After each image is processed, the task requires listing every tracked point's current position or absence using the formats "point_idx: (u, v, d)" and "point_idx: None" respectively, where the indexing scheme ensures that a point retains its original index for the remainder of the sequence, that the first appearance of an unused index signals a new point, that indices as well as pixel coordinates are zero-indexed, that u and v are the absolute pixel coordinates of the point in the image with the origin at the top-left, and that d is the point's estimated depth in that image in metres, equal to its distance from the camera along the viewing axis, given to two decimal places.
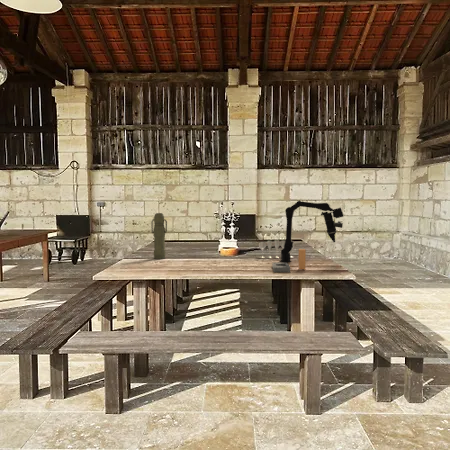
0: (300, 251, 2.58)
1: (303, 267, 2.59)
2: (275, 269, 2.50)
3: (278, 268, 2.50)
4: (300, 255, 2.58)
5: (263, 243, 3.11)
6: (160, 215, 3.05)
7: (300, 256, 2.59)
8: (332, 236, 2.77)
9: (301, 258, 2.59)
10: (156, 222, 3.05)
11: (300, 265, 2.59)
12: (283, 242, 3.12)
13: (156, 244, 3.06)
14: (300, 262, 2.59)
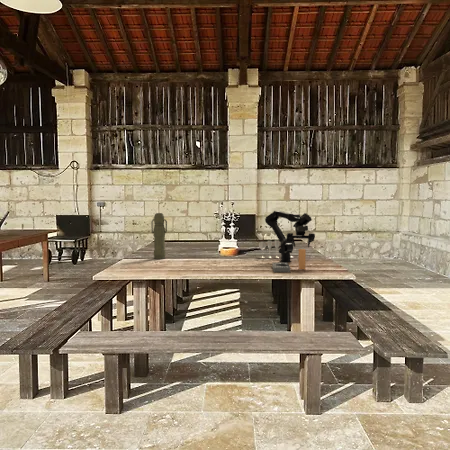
0: (300, 251, 2.58)
1: (303, 267, 2.59)
2: (275, 269, 2.50)
3: (278, 268, 2.50)
4: (300, 255, 2.58)
5: (263, 243, 3.11)
6: (160, 215, 3.05)
7: (300, 256, 2.59)
8: (292, 242, 2.71)
9: (301, 258, 2.59)
10: (156, 222, 3.05)
11: (300, 265, 2.59)
12: None
13: (156, 244, 3.06)
14: (300, 262, 2.59)
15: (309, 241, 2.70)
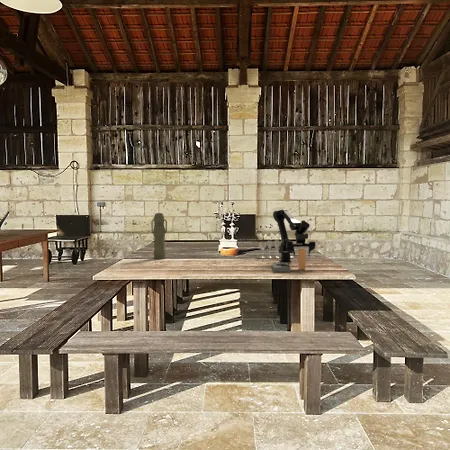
0: (300, 251, 2.58)
1: (303, 267, 2.59)
2: (275, 269, 2.50)
3: (278, 268, 2.50)
4: (300, 255, 2.58)
5: (263, 243, 3.11)
6: (160, 215, 3.05)
7: (300, 256, 2.59)
8: (292, 250, 2.65)
9: (301, 258, 2.59)
10: (156, 222, 3.05)
11: (300, 265, 2.59)
12: None
13: (156, 244, 3.06)
14: (300, 262, 2.59)
15: (309, 249, 2.63)
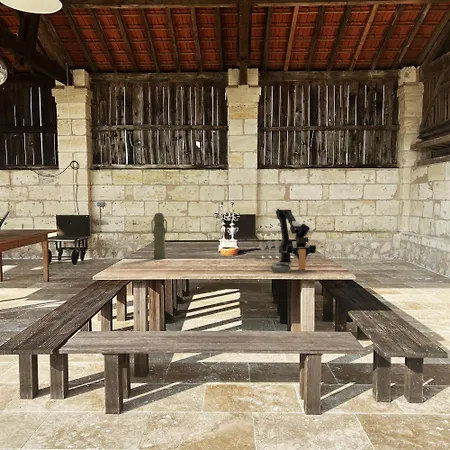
0: (300, 251, 2.58)
1: (303, 267, 2.59)
2: (275, 269, 2.50)
3: (278, 268, 2.50)
4: (300, 255, 2.58)
5: (263, 243, 3.11)
6: (160, 215, 3.05)
7: (300, 256, 2.59)
8: (296, 254, 2.62)
9: (301, 258, 2.59)
10: (156, 222, 3.05)
11: (300, 265, 2.59)
12: None
13: (156, 244, 3.06)
14: (300, 262, 2.59)
15: (306, 253, 2.61)
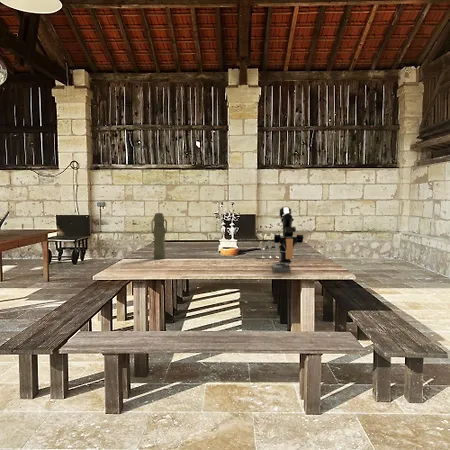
0: (287, 240, 2.57)
1: (290, 257, 2.57)
2: (275, 269, 2.50)
3: (278, 268, 2.50)
4: (287, 244, 2.57)
5: (263, 243, 3.11)
6: (160, 215, 3.05)
7: (287, 245, 2.57)
8: (283, 243, 2.61)
9: (289, 247, 2.57)
10: (156, 222, 3.05)
11: (287, 255, 2.57)
12: None
13: (156, 244, 3.06)
14: (287, 252, 2.57)
15: (293, 243, 2.59)
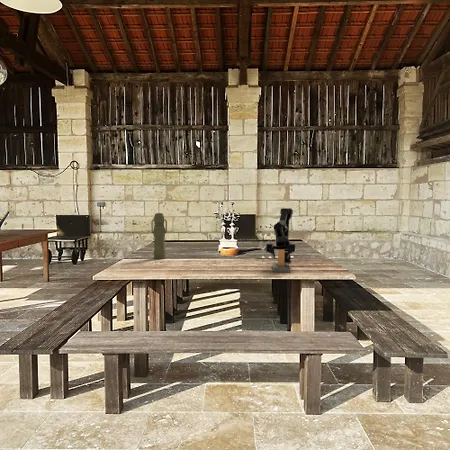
0: (279, 251, 2.57)
1: None
2: (275, 269, 2.50)
3: (278, 268, 2.50)
4: (279, 255, 2.57)
5: (263, 243, 3.11)
6: (160, 215, 3.05)
7: (279, 256, 2.57)
8: (272, 253, 2.61)
9: (280, 258, 2.57)
10: (156, 222, 3.05)
11: (279, 265, 2.57)
12: None
13: (156, 244, 3.06)
14: (279, 262, 2.57)
15: (288, 252, 2.59)
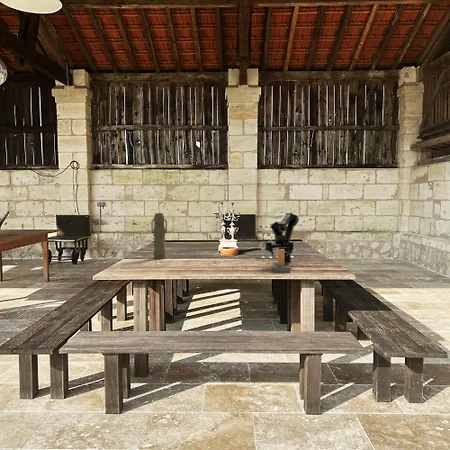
0: (279, 251, 2.57)
1: None
2: (275, 269, 2.50)
3: (278, 268, 2.50)
4: (279, 255, 2.57)
5: (263, 243, 3.11)
6: (160, 215, 3.05)
7: (279, 256, 2.57)
8: (271, 251, 2.70)
9: (280, 258, 2.57)
10: (156, 222, 3.05)
11: (279, 265, 2.57)
12: None
13: (156, 244, 3.06)
14: (279, 262, 2.57)
15: (288, 250, 2.68)
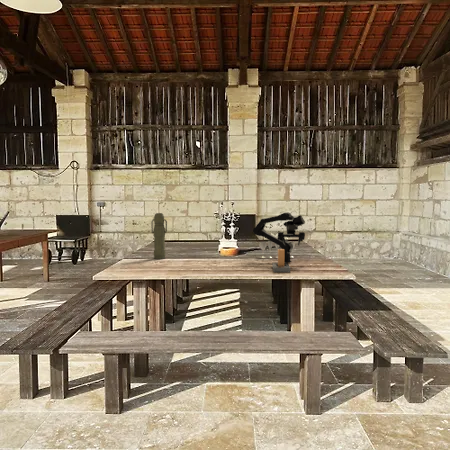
0: (279, 251, 2.57)
1: None
2: (275, 269, 2.50)
3: (278, 268, 2.50)
4: (279, 255, 2.57)
5: (263, 243, 3.11)
6: (160, 215, 3.05)
7: (279, 256, 2.57)
8: (283, 240, 2.81)
9: (280, 258, 2.57)
10: (156, 222, 3.05)
11: (279, 265, 2.57)
12: None
13: (156, 244, 3.06)
14: (279, 262, 2.57)
15: (299, 239, 2.78)
